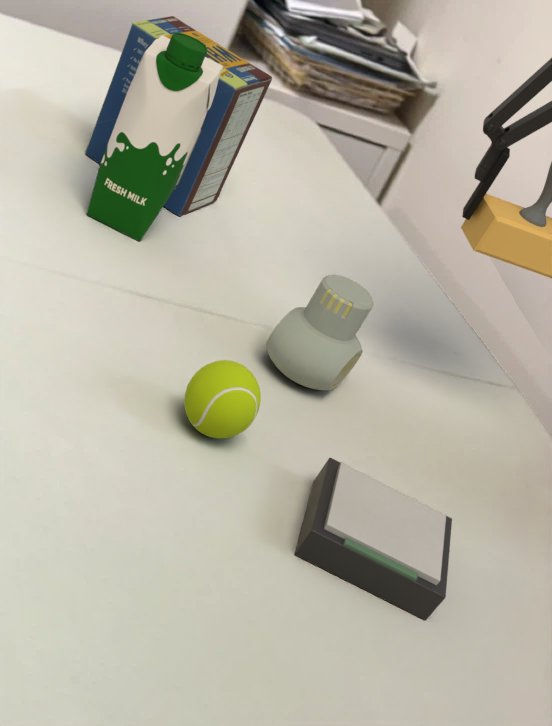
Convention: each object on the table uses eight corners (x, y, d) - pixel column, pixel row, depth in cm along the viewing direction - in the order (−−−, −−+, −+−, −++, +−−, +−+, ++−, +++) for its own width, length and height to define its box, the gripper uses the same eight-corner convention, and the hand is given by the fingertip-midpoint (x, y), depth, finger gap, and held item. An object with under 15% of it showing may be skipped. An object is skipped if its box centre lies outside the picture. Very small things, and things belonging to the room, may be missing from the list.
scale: (433, 541, 105) (456, 513, 103) (425, 621, 96) (450, 592, 94) (313, 481, 105) (333, 451, 103) (294, 555, 96) (315, 524, 94)
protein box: (123, 141, 144) (172, 14, 133) (217, 202, 141) (275, 77, 130) (82, 153, 137) (130, 20, 126) (179, 218, 134) (238, 87, 123)
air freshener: (288, 338, 123) (335, 256, 116) (349, 378, 121) (400, 298, 114) (248, 366, 116) (295, 280, 108) (312, 409, 114) (364, 325, 107)
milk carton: (76, 214, 126) (146, 27, 111) (97, 189, 132) (166, 9, 117) (145, 248, 126) (223, 66, 111) (162, 221, 132) (239, 46, 117)
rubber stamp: (540, 254, 116) (620, 141, 107) (557, 281, 112) (642, 166, 103) (459, 225, 114) (534, 107, 105) (474, 252, 110) (553, 131, 101)
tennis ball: (247, 459, 104) (283, 398, 99) (182, 447, 101) (216, 384, 96) (227, 413, 108) (261, 353, 103) (164, 401, 106) (196, 338, 101)
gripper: (558, -47, 93) (412, 200, 109) (805, 75, 93) (623, 304, 109) (556, -60, 98) (417, 177, 114) (790, 55, 98) (618, 277, 114)
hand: (517, 239), depth 112 cm, fingers closed on rubber stamp, 11 cm apart
